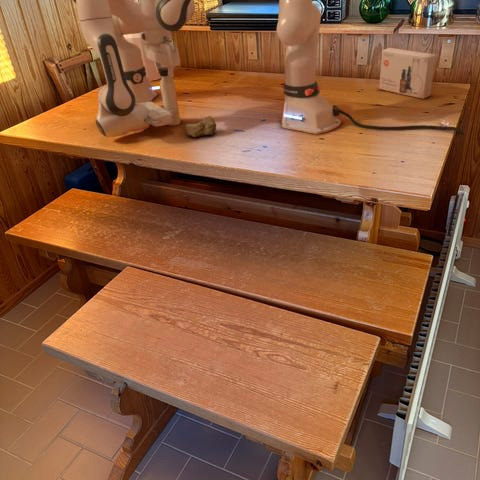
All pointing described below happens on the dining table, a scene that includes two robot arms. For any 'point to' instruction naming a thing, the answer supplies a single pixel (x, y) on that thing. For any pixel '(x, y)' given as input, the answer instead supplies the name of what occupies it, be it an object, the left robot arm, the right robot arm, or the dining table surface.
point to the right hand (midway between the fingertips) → (165, 75)
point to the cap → (163, 71)
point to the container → (144, 56)
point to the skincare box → (407, 72)
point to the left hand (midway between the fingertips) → (173, 108)
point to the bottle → (169, 97)
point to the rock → (202, 127)
